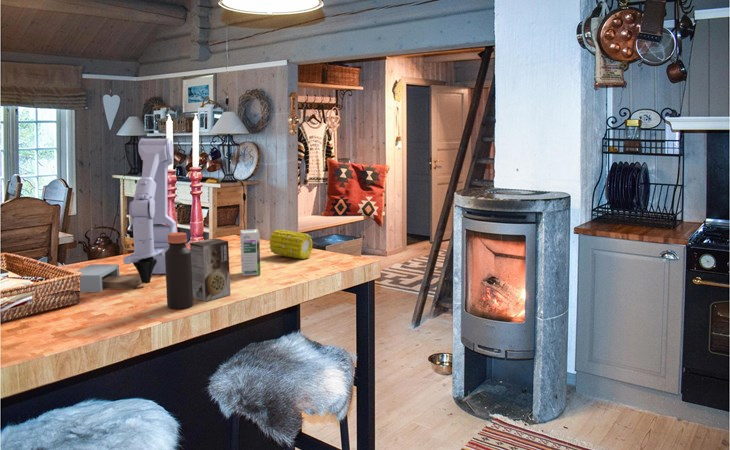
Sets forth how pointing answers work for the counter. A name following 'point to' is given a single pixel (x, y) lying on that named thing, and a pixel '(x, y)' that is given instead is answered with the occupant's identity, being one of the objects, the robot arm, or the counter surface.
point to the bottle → (178, 272)
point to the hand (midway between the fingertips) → (145, 282)
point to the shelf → (96, 276)
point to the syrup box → (250, 252)
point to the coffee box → (210, 269)
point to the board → (121, 282)
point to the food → (291, 244)
